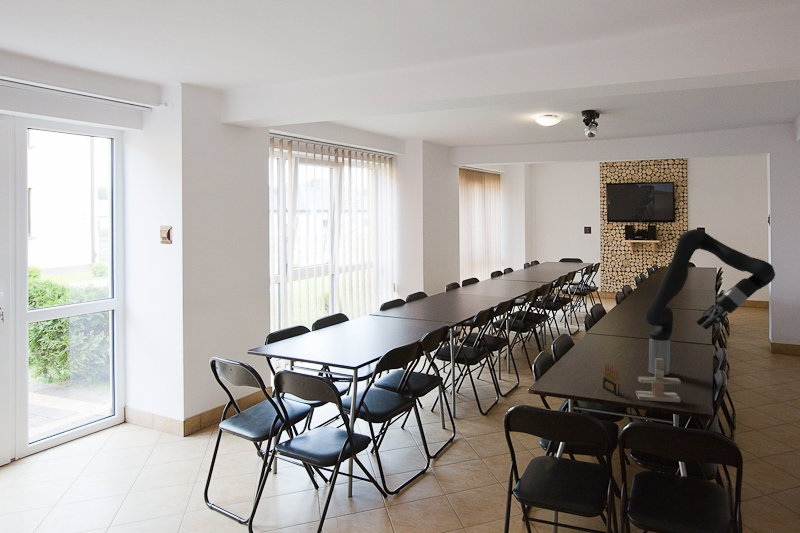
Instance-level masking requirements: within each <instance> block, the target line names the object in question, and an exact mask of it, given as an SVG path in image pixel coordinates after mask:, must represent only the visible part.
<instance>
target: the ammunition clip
mask: <svg viewBox="0 0 800 533" xmlns="http://www.w3.org/2000/svg"><path fill="white" fill-rule="evenodd" d="M619 381H620V379H619V369H618V367H616V366H614V365H611V364H609V363H607V362H605V364H604V371H603V379H602V389H603V390H606V391H607V392H609V393H611V394H613V395H614V396H619V395H620V382H619Z"/></svg>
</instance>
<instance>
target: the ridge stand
mask: <svg viewBox="0 0 800 533" xmlns="http://www.w3.org/2000/svg"><path fill="white" fill-rule="evenodd" d="M635 394H636V397H637V398H638V400H639V401H650V402H651V401H652V402H653V401H654V402H666V403H667V402H668V403H681V400H682V399H681V397H680V396H679V395H678V394H677V392H668V391H667V392H666V391H665V384H660V383H651V390H650V391H649V390H648V391H647V390H646V391H645V390H635Z"/></svg>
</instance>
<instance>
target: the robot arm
mask: <svg viewBox="0 0 800 533" xmlns="http://www.w3.org/2000/svg"><path fill="white" fill-rule="evenodd" d="M697 250H703V251H706V252H709V253H711V254H713V255H714V256H715V257H716V258H718V259H719V260H720V261H721V262H723V263H724V264H726V265H727V266H729V267H732V268H733V269H735V270H738V271H740V272H743V273H744V272H747V273H748V274H749V273H750V274H751V275H750V276H749V277H747V278H746V277H745V278H742V279H741V280H740V281H738V282H737V283H736V284H735V285H733V287H731V288H729V289H728V290H727V291H725V292H724V293H723V294H722V295H720V296H719V298H717V299H716V300H715V302H716V304H717V305H716V306H715V305H714V304H712V305H711V306H710V307H709V308H707V309H706V310H705V311H704V312H703V313H702V316H701V317H700V318H699V319H697V320H696V324H697V325H698V326H701V325H702V327H703V329H704V330H706V331H707V330H708V329H709V328H710V327H712V326H713V325H715V324H716V325H717V324H720V322H721V321H722V320H724V319H726V317H727V316H728V315H729V314H732V313H733V312H734V311H735V310H737V309H738V308H739V307H740V306H742V305H744V303H745V302H746V301H747V300H748V299H749V298H750V297H751V296H752V295H754V293H756V292H757V291H759V290H760V289H763V288H764V287H766V286H767V285H769V284H770V283H771V282H772V281H773V280H774V279H775V276H776V272H775V269H774V267H773V265H772V264H771V263H769V262H767V261H766V260H763V259H761V258H755V257H754V256H753V257H752V256H750V255H748V254H746V253H743V252H741V251H738V250H736V249H734V248H732V247H730V246H728V245H726V244H724V243H722V242H721V241H719V240H718V239H716V238H714V237H712V236H711V235H709V234H708V233H707V232H705V231H703V230H701V229H699V228H698V229H697V228H695V229H690V230H686V231H684V232H683V233H682V234H680V236H679V237H678V241H677V244H676V247H675V251H674V254H673V257H672V259H671V261H670V263H669V266H668V267H667V269H666V272H665V274H664V276H663V279H662V281H661V284H660V285H659V288H658V290H657V292H656V295H655V296H654V298H653V300H652V302H651V303H650V305H649V307H648V308H647V311H646V314H645V319H646V322H647V324H648V325H650V326H653V327H655V328H654V329H653V330H651V331H650V332H649V337H648V338H649V340H648V342H649V343H648V373H649V374H651V375H655V358H663V359H664V376H668V375H669V374H670V361H671V360H670V358H671V357H670V356H671V354H670V353H671V336H672V333H673V326H674V324H673V323H674V313H673V310H672V309H671V308H670V307H669V306H668V304H669V303H670V302H671V301H672V300H673V299H675V297H676V296H677V295H678V294H680V292H681V291H682V290H683V288H684V286H685V284H686V282H687V279H688V276H689V263H690V260H691V258H692V256H693V255H694V253H695V252H696V251H697Z"/></svg>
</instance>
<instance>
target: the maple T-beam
mask: <svg viewBox="0 0 800 533" xmlns="http://www.w3.org/2000/svg"><path fill="white" fill-rule="evenodd" d="M637 381H638V382H639V383H641V384H642V383H644V384H652V383H660V384H664V385H678V386H679V385H682V384H681V383H682V382H681V380H680V378H678V377H677V378H676V377H665V375H664V359H663V358H655V374H654V376H637Z"/></svg>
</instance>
